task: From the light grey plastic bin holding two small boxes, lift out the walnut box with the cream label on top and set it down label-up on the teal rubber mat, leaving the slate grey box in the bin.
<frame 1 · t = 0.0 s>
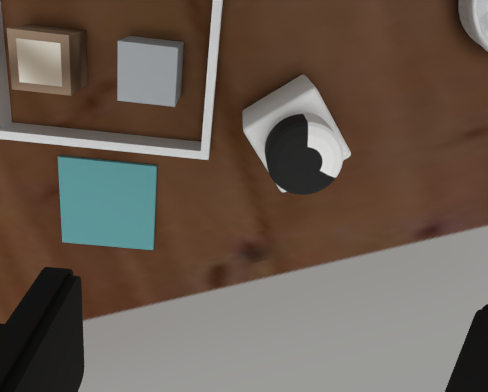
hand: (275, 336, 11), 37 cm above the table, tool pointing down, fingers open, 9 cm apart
slate box: (156, 66, 44), resting in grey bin
walnut box: (60, 55, 43), resting in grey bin
medicine bottle: (289, 121, 47), on the table
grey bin: (108, 60, 44), on the table
teal mat: (109, 203, 50), on the table
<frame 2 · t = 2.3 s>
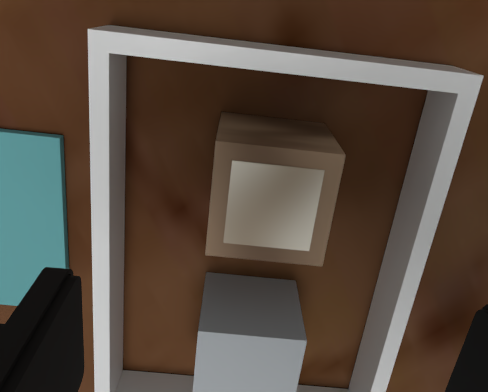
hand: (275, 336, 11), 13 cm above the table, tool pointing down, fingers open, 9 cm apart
slate box: (245, 312, 27), resting in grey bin
walnut box: (266, 165, 23), resting in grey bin
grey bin: (255, 245, 25), on the table
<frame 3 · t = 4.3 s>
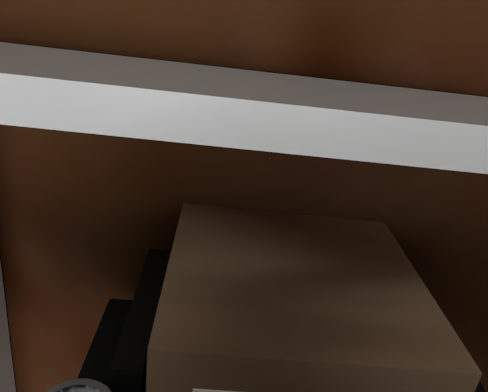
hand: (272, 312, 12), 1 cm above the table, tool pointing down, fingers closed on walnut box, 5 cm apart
walnut box: (271, 295, 12), resting in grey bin, touching gripper
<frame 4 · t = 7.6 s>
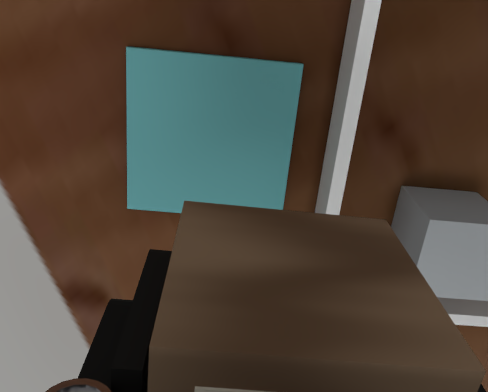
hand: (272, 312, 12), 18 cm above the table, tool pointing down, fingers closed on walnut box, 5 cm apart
slate box: (428, 222, 31), resting in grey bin
walnut box: (272, 294, 12), point 17 cm above the table, touching gripper
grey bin: (447, 160, 29), on the table
teal mat: (210, 138, 28), on the table
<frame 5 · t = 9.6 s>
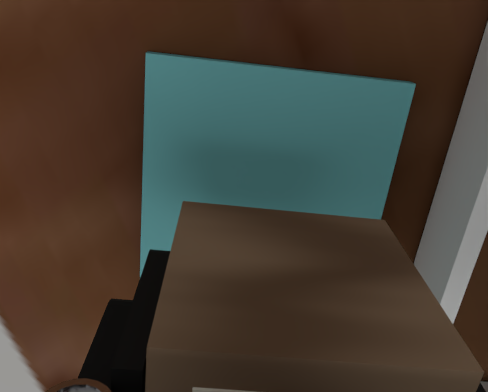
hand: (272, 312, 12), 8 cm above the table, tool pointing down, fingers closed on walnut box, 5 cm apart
walnut box: (271, 294, 12), point 8 cm above the table, touching gripper
teal mat: (264, 188, 19), on the table
when the fingers open (3 cm above the table, at t = 11.1 s): walnut box drops 1 cm, resting on teal mat.
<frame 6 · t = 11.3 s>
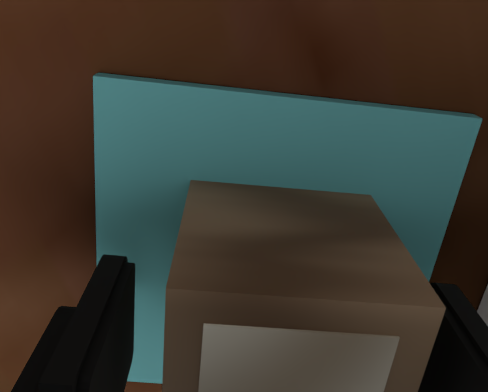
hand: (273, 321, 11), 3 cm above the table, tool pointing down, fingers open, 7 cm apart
walnut box: (270, 264, 14), resting on teal mat
teal mat: (265, 256, 14), on the table
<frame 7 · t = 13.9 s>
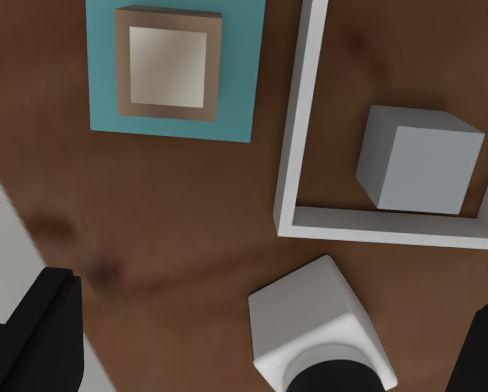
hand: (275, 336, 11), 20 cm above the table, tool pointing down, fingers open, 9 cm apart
slate box: (398, 144, 31), resting in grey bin
walnut box: (176, 54, 27), resting on teal mat
medicine bottle: (307, 303, 36), on the table
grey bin: (416, 76, 29), on the table
teal mat: (175, 53, 28), on the table
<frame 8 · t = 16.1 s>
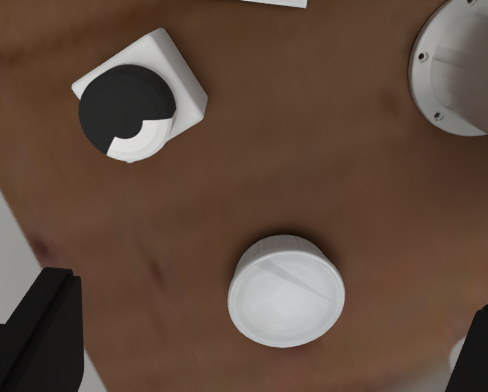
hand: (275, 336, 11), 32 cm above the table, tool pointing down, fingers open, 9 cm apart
medicine bottle: (153, 84, 40), on the table
ramekin: (281, 270, 49), on the table
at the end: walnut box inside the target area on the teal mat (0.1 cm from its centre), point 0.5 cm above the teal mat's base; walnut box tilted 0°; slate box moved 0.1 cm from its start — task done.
